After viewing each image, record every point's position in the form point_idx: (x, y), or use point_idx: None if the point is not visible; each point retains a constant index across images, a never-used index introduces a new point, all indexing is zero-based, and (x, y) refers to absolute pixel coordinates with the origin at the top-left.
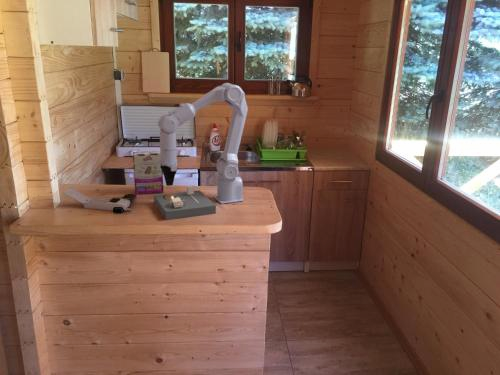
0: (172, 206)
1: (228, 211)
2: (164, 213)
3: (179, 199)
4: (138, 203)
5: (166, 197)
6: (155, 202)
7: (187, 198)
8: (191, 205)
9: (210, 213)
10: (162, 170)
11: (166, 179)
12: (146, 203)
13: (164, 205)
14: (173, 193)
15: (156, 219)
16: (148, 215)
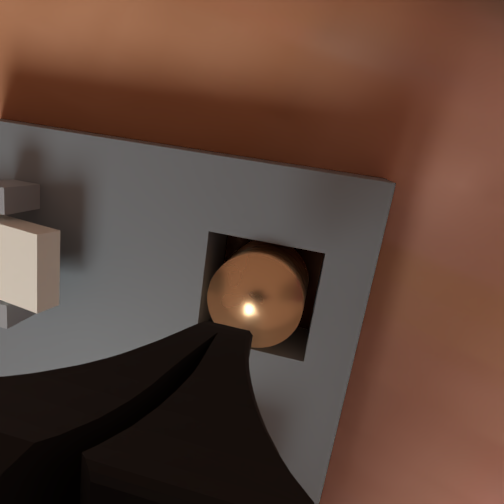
0: (30, 211)
1: None
2: (10, 121)
3: (4, 292)
4: (454, 32)
5: (231, 258)
6: (320, 169)
7: None
8: (7, 345)
9: None
10: (168, 435)
11: (142, 350)
12: (408, 108)
13: (72, 160)
14: (337, 375)
15: (32, 57)
16: (125, 24)
